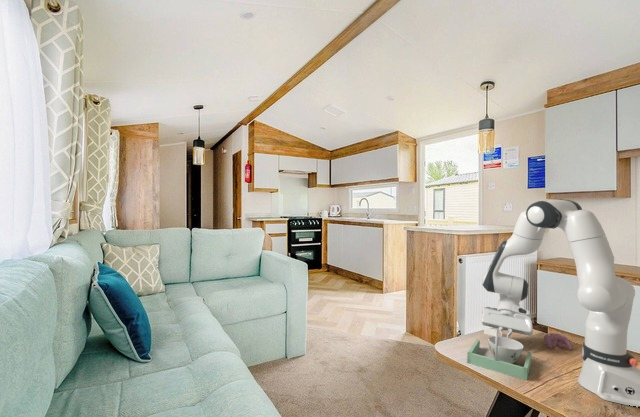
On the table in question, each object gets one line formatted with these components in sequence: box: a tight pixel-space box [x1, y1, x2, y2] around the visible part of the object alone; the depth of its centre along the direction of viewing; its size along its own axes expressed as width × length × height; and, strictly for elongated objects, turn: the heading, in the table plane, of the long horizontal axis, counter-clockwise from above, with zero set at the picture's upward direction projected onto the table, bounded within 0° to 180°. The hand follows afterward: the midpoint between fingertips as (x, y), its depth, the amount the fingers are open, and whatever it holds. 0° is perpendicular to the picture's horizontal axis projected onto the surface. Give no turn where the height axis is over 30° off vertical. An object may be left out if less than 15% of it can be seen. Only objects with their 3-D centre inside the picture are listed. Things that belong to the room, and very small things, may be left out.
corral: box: [466, 326, 532, 381], centre depth 130 cm, size 20×17×16 cm
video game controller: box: [543, 332, 573, 351], centre depth 145 cm, size 10×5×7 cm, turn 85°
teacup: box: [487, 336, 524, 364], centre depth 132 cm, size 15×12×8 cm
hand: (504, 338), depth 141 cm, fingers closed
